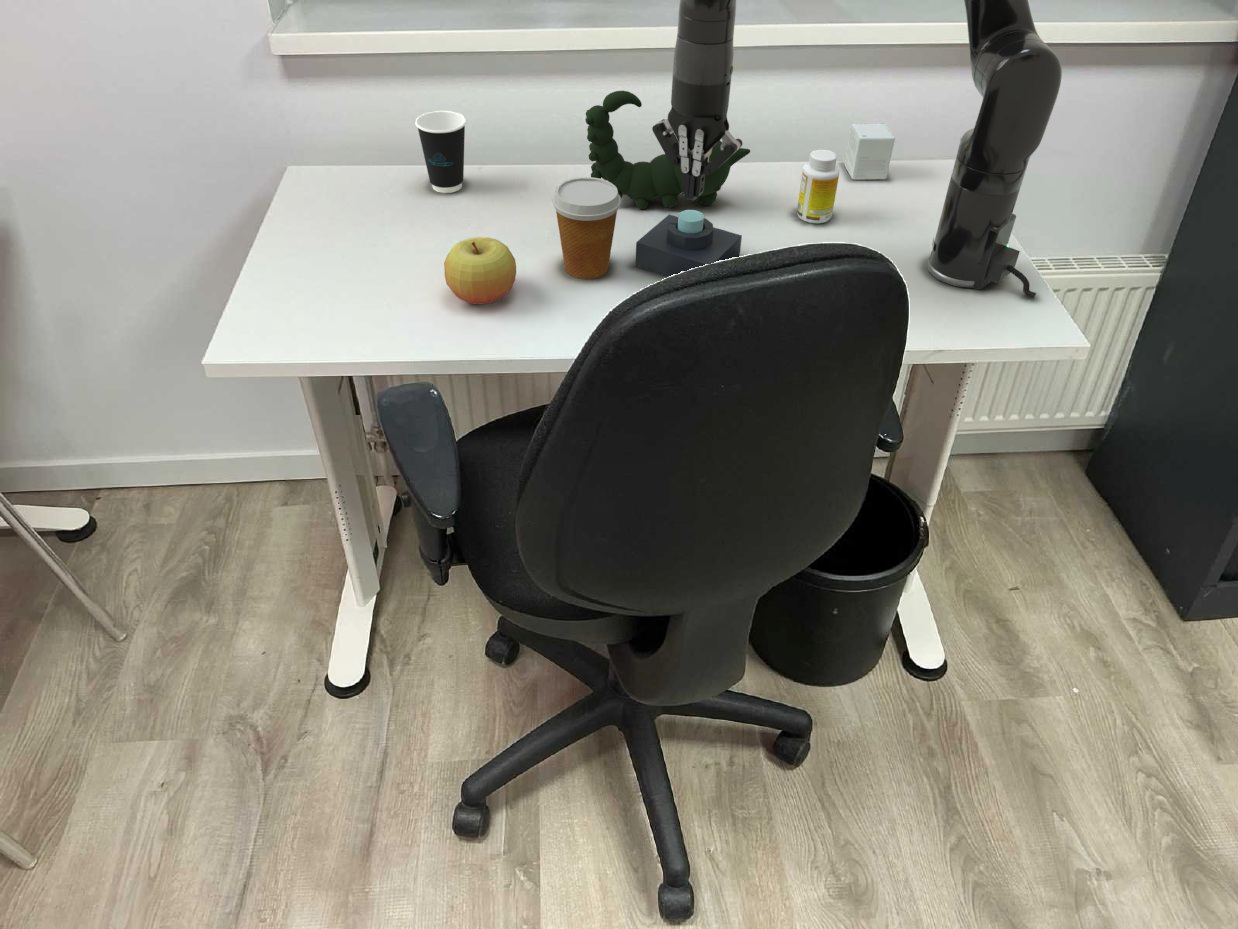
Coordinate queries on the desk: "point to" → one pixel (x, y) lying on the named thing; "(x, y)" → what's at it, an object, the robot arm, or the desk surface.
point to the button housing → (684, 247)
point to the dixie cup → (443, 148)
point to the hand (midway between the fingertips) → (691, 196)
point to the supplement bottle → (818, 187)
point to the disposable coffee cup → (586, 224)
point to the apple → (480, 270)
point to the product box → (869, 151)
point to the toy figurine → (643, 176)
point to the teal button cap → (690, 221)
